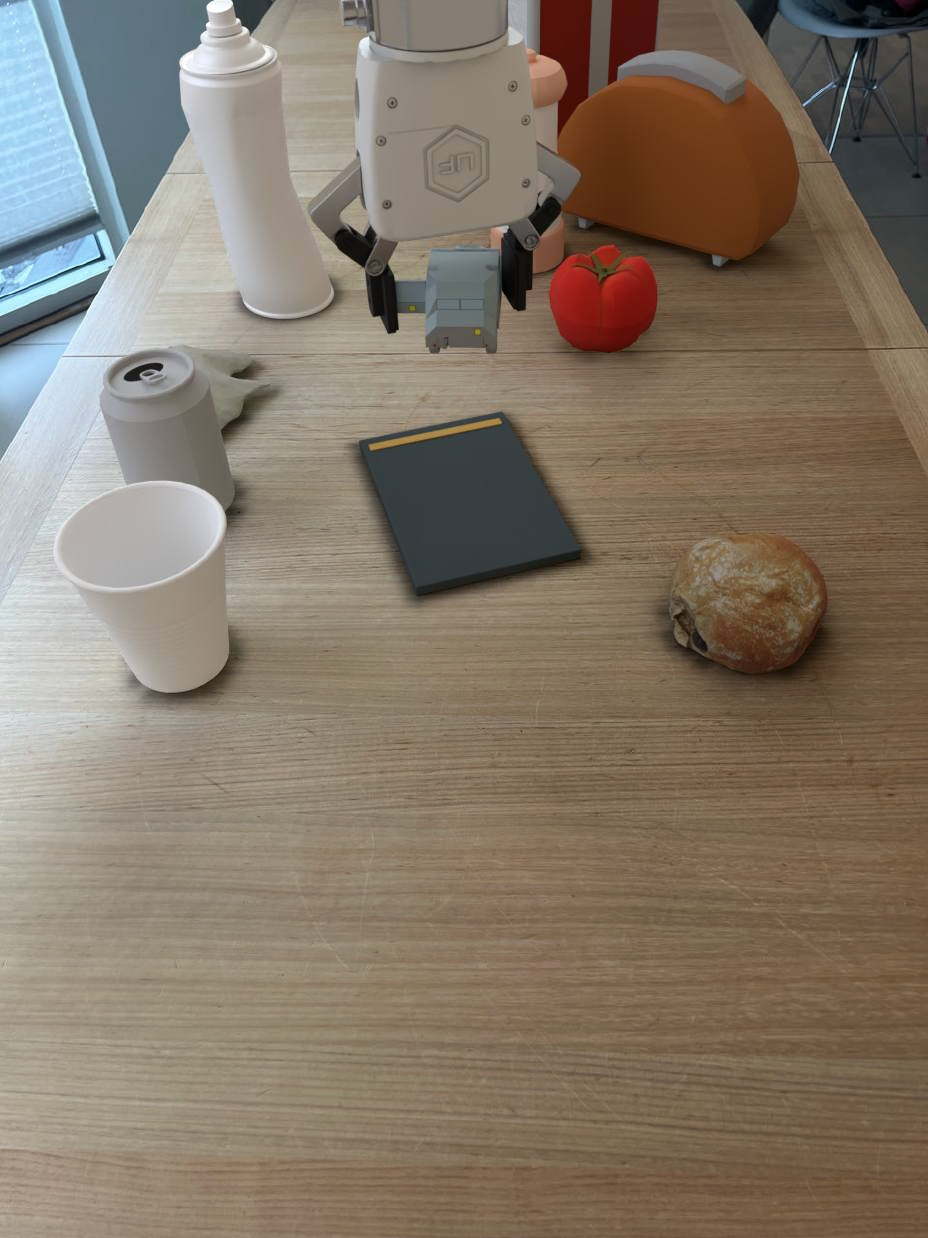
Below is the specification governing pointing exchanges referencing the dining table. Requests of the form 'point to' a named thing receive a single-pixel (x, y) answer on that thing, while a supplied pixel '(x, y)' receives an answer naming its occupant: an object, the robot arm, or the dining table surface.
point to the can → (165, 422)
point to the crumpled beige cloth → (224, 379)
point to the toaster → (682, 156)
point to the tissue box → (587, 40)
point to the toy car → (457, 298)
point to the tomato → (603, 299)
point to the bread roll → (747, 601)
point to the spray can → (251, 168)
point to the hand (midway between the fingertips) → (451, 310)
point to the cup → (153, 578)
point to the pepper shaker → (546, 94)
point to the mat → (465, 503)
